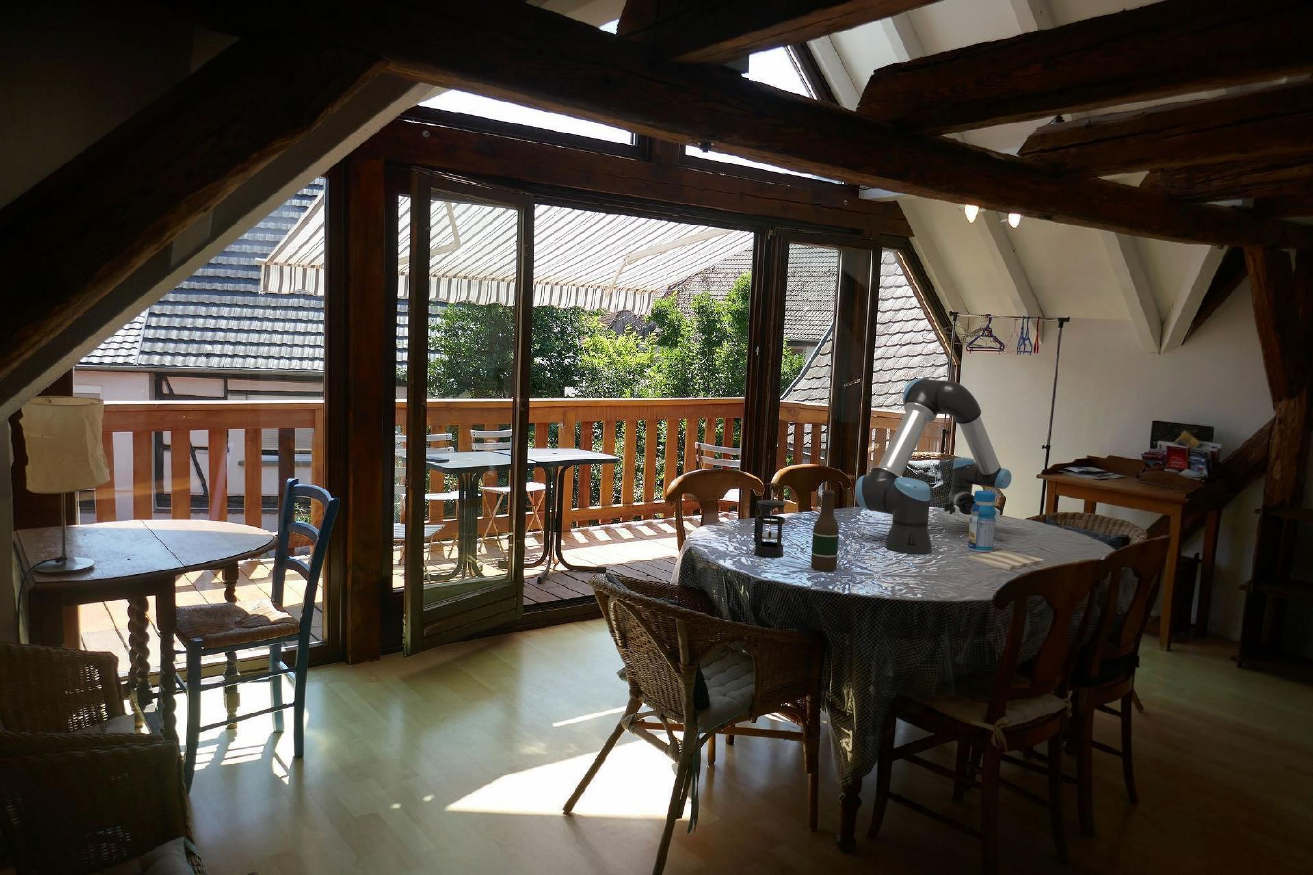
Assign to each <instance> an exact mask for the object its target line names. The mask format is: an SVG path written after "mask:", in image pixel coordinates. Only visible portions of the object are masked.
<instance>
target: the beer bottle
mask: <svg viewBox="0 0 1313 875" xmlns="http://www.w3.org/2000/svg"><path fill="white" fill-rule="evenodd" d="M821 494H822V500H821V508H820V514H819V517H818V518H817V519H816V520H815V523H814V526H813V530H812V539H811V540H812V543H811V557H810V558H811V560H810V566H811V569H813V570H815V571H817V572H825V573H827V572H834V571H836V569H837V566H838V565H837V564H838V553H839V552H838V551H839V537H840V532H839V531H840V530H839V528H840V527H839V524H838V523H839V522H837V520H836V518H835V514H834V513H835V511H834V504H835V502H834V500H835V499H834V497H835V496H834V495H835V490H832V489H823V490H822V493H821Z"/></svg>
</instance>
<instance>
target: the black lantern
mask: <svg viewBox="0 0 1313 875" xmlns="http://www.w3.org/2000/svg"><path fill="white" fill-rule="evenodd" d="M765 485H766V486H770V490H771V499H762V500H757V502H756V503H757V504H758V509H759V510H760V511H765V512H770V514H757V515H756V514H755V516H754V532H753V542H754V543H755V544H754V551H753V555H754V556H756V557H760V558H765V559H766V558H767V559H778V558H779V559H780V558H783V557H784V555H785V554H784V544H782V539H783V538H784V535H783V525H784V524H785V522H786V517H783V516H780V515H773V514H772V513H773V510H776V508H777V509H782V510H785V506H786V505H787V503H786V502H785V501H780V500H775V499H773V497H774V493H773V492H774V489H775V486H776V487H777V486H779V487H780V484H779V483H776V482H768V483H765ZM764 524H765V525H769V530H768V531H767V532H766V531H764ZM772 525H774V526H775V525H777V532H772V530H771V529H772ZM763 540H767V541H763ZM768 540H776V541H768Z"/></svg>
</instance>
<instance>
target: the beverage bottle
mask: <svg viewBox="0 0 1313 875" xmlns="http://www.w3.org/2000/svg"><path fill="white" fill-rule="evenodd" d="M973 496H974V501H976V503H975V504H974V505H973V506H972V508H971V514H970V516H969V528H968V530H969V531H968V532H969V533H968V543H967V544H968V545H967V548H968V550H969V551H973V552H978V553H990V552H994V542H995V530H996V523H997V518H996V517H995V515H996V509H995V507H994V506H995V505H994V503H995V501H996V493H995V492H994V491H990V490H975V491H974V492H973Z"/></svg>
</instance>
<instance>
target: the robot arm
mask: <svg viewBox="0 0 1313 875" xmlns="http://www.w3.org/2000/svg"><path fill="white" fill-rule="evenodd" d="M902 395H903V397H902V403H903V405H904V406H903V410H904V412H905V413H904V415H903V417H902V419H901V421H900V423H899V425H898V426H897V428H896V431H895V432H894V435H893V437H892V438H891V440H890V442H889V444H888V446H887V448H886V450H885V452H884V453H883V456H882V458H881V460H880V462H879V464H878V465H877V466H873V467H872V468H871V469H870V471H869V473H868V474H864V475H862V476H860V477H859V478H858V479H857V481H856V484H855V487H854V494H855V500H856V502H857V504H858V505H859V506H860V508H862V509H865V510H868V511H870V512H878V513H882V514H887V515H892V518H891V519H892V520H891V526H890V528H889V531H888V534H887V535H886V539H885V543H884V544H885V546H884V547H885V548H886V549H887V550H890V551H893V552H897V553H904V554H915V555H922V554H924V555H925V554H930V553H931V552H932V547H933V543H932V542H931V541H932V540H931V535H930V532H929V519H930V518H929V516H930V505H931V504H930V502H931V499H932V497H931V486H930V485H929V484H928V483H927V482H926V481H923V480H920V479H917V478H910V477H903V474H904V472H905V469H906V467H907V466H908V464H909V462H910V461H911V458H912V456H913V453H914V452H915V450H916V448H917V445H918V444H919V442H920V440H921V438H922V436H923V435H924V431H925V430H926V429H927V426H928V424H929V423H933V422H934V421H935V419H936V417H937V416H938V414H945V415H949V416H951V417H952V418H953V421H954V422H955V423H956V424H958V425H959V427H960V430H961V431H962V434H963V436H964V438H965V440H966V443H967V446H968V448H969V451H970V452H971V455H972V457H973V458H971V457H962V456H961V457H956V458H955V459H954V460H953V467H952V477H951V480H952V481H951V487H950V488H951V490H950V492H949V494H948V499H949V502H946V503H945V504H944V508H943V511H944V512H949V515H953V514H954V515H955V516H956V517H959V516H960V513H961V514H963V515H966V516H967V515H970V516H971V508H972V506H973V505H974V504H975V503H976V501H974V494H973V488H974V487H973V485H974V486H981V487H987V488H992V489H997V490H998V489H999V490H1006V489H1008V488H1009V486H1010V485H1011V482H1012V473H1011V471H1010V470H1009V469H1008V468H1004V467H1003V468H1002V467H1001V464H1000V463H999V460H998V458H997V455H996V452H995V449H994V447H993V445H992V443H991V440H990V438H989V435H988V432H987V430H986V428H985V425H984V422H983V420H982V417H981V414H982V410H981V407H980V404H979V402H978V401H977V399H976V398H975V397H974V395H973V393H971V391H969V390H968V388H966V387H965V386H964V385H962V384H960V383H959V382H956V381H953V380H938V379H929V378H917V379H913V380H912V381H910V382H909V383H908V384H907V385H906V386H905V387H904V391H903V394H902ZM994 507H995V509H996V515H995V518H996V520H997V519H1000V516H1003V514H1004V507H1003V506H1002V507H1001V506H999V505H994Z"/></svg>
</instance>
